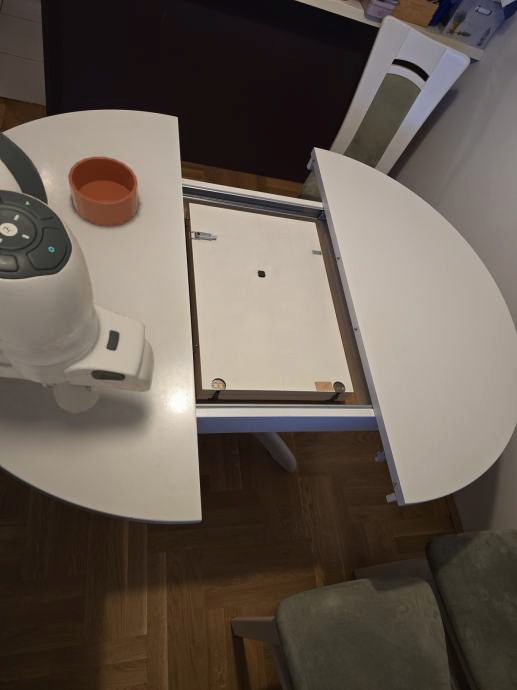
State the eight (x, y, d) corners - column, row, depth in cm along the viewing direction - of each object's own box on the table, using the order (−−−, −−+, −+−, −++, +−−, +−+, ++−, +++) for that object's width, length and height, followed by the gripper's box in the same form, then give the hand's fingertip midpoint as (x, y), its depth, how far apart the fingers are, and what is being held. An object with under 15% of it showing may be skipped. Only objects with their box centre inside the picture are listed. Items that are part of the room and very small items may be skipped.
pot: (66, 219, 75) (61, 195, 70) (81, 175, 81) (76, 150, 75) (132, 231, 78) (131, 209, 73) (141, 188, 83) (141, 165, 78)
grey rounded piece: (92, 421, 55) (77, 391, 43) (51, 411, 54) (24, 378, 43) (107, 383, 57) (96, 346, 46) (68, 373, 57) (47, 333, 45)
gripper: (-82, 351, 35) (-27, 398, 47) (151, 378, 40) (147, 414, 52) (-55, 292, 38) (-10, 351, 50) (159, 324, 43) (154, 371, 55)
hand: (72, 383), depth 51 cm, fingers closed on grey rounded piece, 3 cm apart
